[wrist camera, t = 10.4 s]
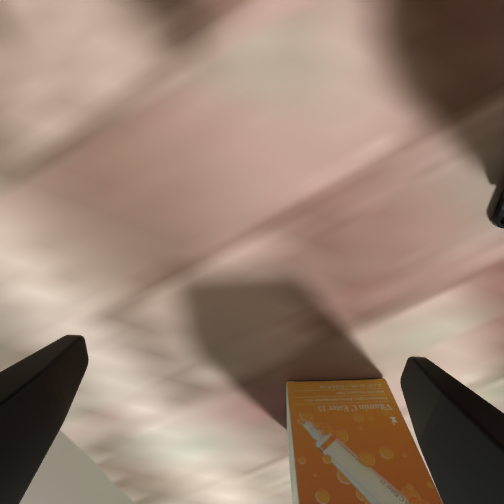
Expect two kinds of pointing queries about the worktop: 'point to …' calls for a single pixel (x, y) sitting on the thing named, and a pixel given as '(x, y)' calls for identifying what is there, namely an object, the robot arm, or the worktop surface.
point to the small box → (352, 446)
